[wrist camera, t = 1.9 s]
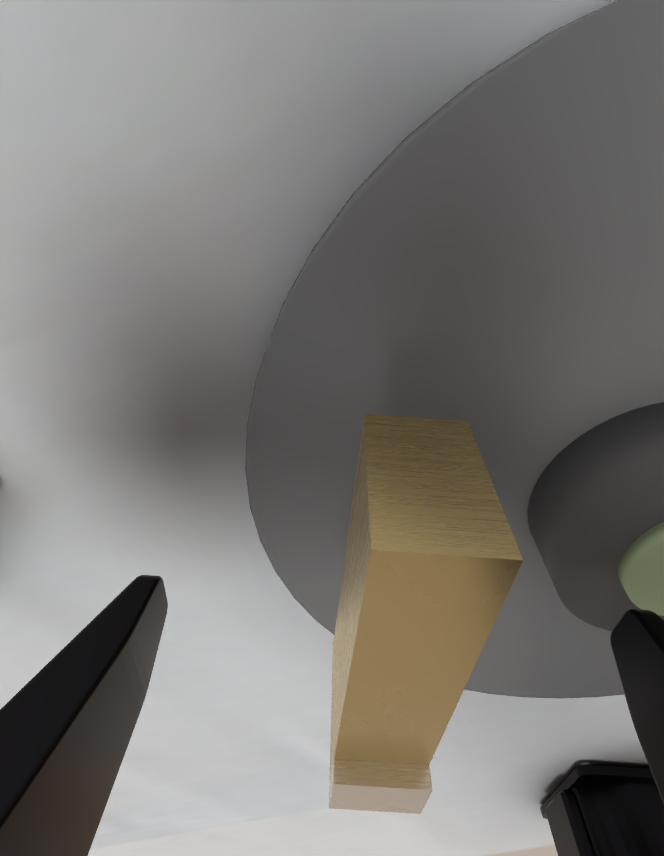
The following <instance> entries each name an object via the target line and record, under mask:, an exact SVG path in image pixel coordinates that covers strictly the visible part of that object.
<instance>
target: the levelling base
mask: <svg viewBox="0 0 664 856" xmlns="http://www.w3.org/2000/svg"><path fill="white" fill-rule="evenodd" d="M364 413H367V414H380V415H393V416H406V417H419V418H432V419H445V420H458V421H468V423H469V426H470V428H471V431H472V433H473V436H474V438H475V441H476V443H477V446H478V448H479V451H480V453H481V456H482V458H483V461H484V463H485V466H486V468H487V471H488V473H489V476H490V478H491V481H492V483H493V486H494V488H495V491H496V493H497V496H498V499H499V501H500V504H501V506H502V509H503V511H504V514H505V516H506V519H507V521H508V524H509V526H510V529H511V531H512V534H513V536H514V539H515V541H516V544H517V546H518V549H519V551H520V554H521V556H522V559H523V562H522V564H521V566H520V568H519V570H518V573H517V575H516V577H515V579H514V581H513V583H512V586H511V588H510V590H509V592H508V594H507V596H506V599H505V601H504V603H503V605H502V607H501V610H500V612H499V614H498V616H497V618H496V620H495V623H494V625H493V627H492V629H491V631H490V633H489V636H488V638H487V640H486V642H485V644H484V646H483V649H482V651H481V653H480V655H479V657H478V659H477V662H476V664H475V666H474V668H473V670H472V673H471V675H470V677H469V679H468V681H467V683H466V686H465V688H464V689H466V690H471V691H477V692H483V693H488V694H498V695H508V696H518V697H537V698H580V697H601V696H612V695H623V694H625V693H624V690H623V686H622V682H621V679H620V675H619V672H618V668H617V665H616V661H615V658H614V654H613V651H612V647H611V641H610V637H611V632H612V630H613V629H614V628H615V626H616V625H617V623H618V622H619V621H620V619H621V618H622V616H623V615H624V614H625V612H626V611H627V610H630V609H641V610H650V611H652V612H654V613H656V614H657V615H659V616H660V617H661V618H662V619H663V620H664V0H618V1H616V2H613V3H611V4H609V5H607V6H605V7H603V8H601V9H599V10H597V11H595V12H593V13H591V14H588V15H586V16H584V17H582V18H580V19H578V20H576V21H574V22H572V23H570V24H568V25H566V26H563V27H561V28H559V29H557V30H555V31H553V32H551V33H549V34H547V35H545V36H544V37H542V38H541V39H539V40H538V41H536V42H535V43H533V44H531V45H530V46H528V47H527V48H525V49H524V50H522V51H521V52H519V53H518V54H516V55H514V56H513V57H511V58H510V59H508V60H507V61H505V62H504V63H502V64H500V65H499V66H497V67H496V68H494V69H493V70H491V71H490V72H488V73H486V74H485V75H483V76H482V77H480V78H479V79H477V80H476V81H474V82H473V83H471V84H470V85H469V86H467V87H466V88H465V89H464V90H463V91H461V92H460V93H459V94H458V95H457V96H455V97H454V98H453V99H452V100H451V101H449V102H448V103H447V104H446V105H445V106H443V107H442V108H441V109H440V110H439V111H437V112H436V113H435V114H434V115H433V116H431V117H430V118H429V119H428V120H427V121H425V122H424V123H423V124H422V125H421V126H419V127H418V128H417V129H416V130H415V131H413V132H412V133H411V134H410V135H409V136H407V137H406V138H405V139H404V140H403V141H402V142H401V143H400V144H399V146H398V147H397V148H396V149H395V150H394V151H393V152H392V153H391V154H390V155H389V156H388V157H387V158H386V159H385V160H384V162H383V163H382V164H381V165H380V166H379V167H378V168H377V169H376V170H375V171H374V172H373V173H372V174H371V175H370V176H369V178H368V179H367V180H366V181H365V182H364V183H363V184H362V185H361V186H360V187H359V188H358V189H357V190H356V191H355V192H354V194H353V195H352V196H351V197H350V199H349V200H348V202H347V203H346V204H345V206H344V207H343V209H342V210H341V211H340V213H339V214H338V215H337V217H336V218H335V220H334V221H333V222H332V224H331V225H330V226H329V228H328V229H327V231H326V232H325V233H324V235H323V236H322V237H321V239H320V240H319V242H318V243H317V244H316V246H315V247H314V249H313V250H312V252H311V254H310V256H309V257H308V259H307V261H306V263H305V265H304V267H303V268H302V270H301V272H300V274H299V276H298V278H297V280H296V281H295V283H294V285H293V287H292V289H291V291H290V293H289V294H288V296H287V298H286V300H285V302H284V304H283V307H282V309H281V312H280V315H279V317H278V320H277V323H276V325H275V328H274V331H273V334H272V336H271V339H270V342H269V344H268V347H267V350H266V352H265V355H264V358H263V361H262V364H261V367H260V370H259V372H258V375H257V380H256V385H255V389H254V394H253V399H252V404H251V409H250V414H249V418H248V423H247V442H246V465H245V469H246V477H247V485H248V493H249V501H250V508H251V511H252V515H253V518H254V521H255V524H256V528H257V531H258V534H259V538H260V541H261V543H262V545H263V547H264V549H265V551H266V553H267V555H268V557H269V559H270V561H271V563H272V565H273V567H274V569H275V571H276V573H277V574H278V576H279V577H280V578H281V580H282V581H283V583H284V584H285V585H286V587H287V588H288V590H289V591H290V592H291V594H292V595H293V597H294V598H295V599H296V600H297V601H298V602H299V603H300V604H301V605H302V606H303V607H304V608H305V609H306V610H307V612H308V613H309V614H310V615H311V616H312V617H313V618H314V619H315V620H316V621H317V622H319V623H320V624H321V625H323V626H324V627H325V628H326V629H328V630H329V631H330V632H331V633H333V634H335V626H336V619H337V611H338V604H339V596H340V589H341V581H342V573H343V566H344V558H345V551H346V543H347V535H348V528H349V520H350V513H351V505H352V497H353V490H354V482H355V475H356V467H357V460H358V452H359V444H360V437H361V429H362V422H363V414H364Z"/></svg>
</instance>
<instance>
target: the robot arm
mask: <svg viewBox="0 0 664 856" xmlns="http://www.w3.org/2000/svg"><path fill="white" fill-rule="evenodd" d="M167 607H168V603H167V597H166V592H165V588H164V583H163V580H162V578H161V577H160V576H151V575H141V576H139V577H137V578H136V579H135V580H134V581H132V582H131V583H130V584H129V585H128V586H127V587H126V588H125V589H124V590H123V591H122V592H121V593H120V594H119V595H118V596H117V597H116V598H115V599H114V600H113V601H112V602H111V603H110V604H109V605H108V606H107V607H106V608H105V609H104V610H103V611H102V612H101V613H100V614H98V615H97V616H96V617H95V618H94V619H93V620H92V621H91V622H90V623H89V624H88V625H87V626H86V627H85V628H84V629H83V630H82V631H81V632H80V633H79V634H78V635H77V636H76V637H75V638H74V639H73V640H72V641H71V642H70V643H69V644H68V645H67V646H66V647H64V648H63V649H62V650H61V651H60V652H59V653H58V654H57V655H56V656H55V657H54V658H53V659H52V660H51V661H50V662H49V663H48V664H47V665H46V666H45V667H44V668H43V669H42V670H41V671H40V672H39V673H38V674H37V675H36V676H35V677H34V678H33V679H32V680H30V681H29V682H28V683H27V684H26V685H25V686H24V687H23V688H22V689H21V690H20V691H19V692H18V693H17V694H16V695H15V696H14V697H13V698H12V699H11V700H10V701H9V702H8V703H7V704H6V705H5V706H4V707H3V708H2V709H1V710H0V856H87V855H88V853H89V850H90V847H91V845H92V842H93V839H94V836H95V834H96V831H97V828H98V825H99V823H100V820H101V817H102V815H103V812H104V809H105V806H106V804H107V801H108V798H109V796H110V793H111V790H112V787H113V785H114V782H115V779H116V776H117V774H118V771H119V768H120V766H121V763H122V760H123V757H124V755H125V752H126V749H127V746H128V744H129V741H130V738H131V736H132V733H133V730H134V727H135V725H136V722H137V719H138V716H139V714H140V711H141V708H142V705H143V702H144V699H145V696H146V693H147V689H148V685H149V682H150V678H151V674H152V670H153V666H154V662H155V658H156V654H157V650H158V646H159V642H160V638H161V634H162V630H163V626H164V622H165V618H166V614H167ZM610 641H611V647H612V651H613V654H614V658H615V661H616V665H617V668H618V672H619V675H620V679H621V682H622V686H623V690H624V693H625V697H626V700H627V704H628V707H629V711H630V714H631V717H632V721H633V724H634V727H635V730H636V732H637V735H638V738H639V741H640V743H641V746H642V749H643V751H644V754H645V756H646V759H647V762H648V764H649V767H650V769H648V768H632V767H616V766H600V765H581V766H578V767H576V768H575V769H574V770H573V771H572V773H571V774H570V775H569V776H568V777H567V778H566V779H565V780H564V781H563V783H562V784H561V785H560V786H559V787H558V788H557V789H556V790H555V791H554V793H553V794H552V795H551V796H550V797H549V798H548V799H547V800H546V801H545V803H544V804H543V805H542V806H541V807H540V809H541V813H542V816H543V818H545V819H548V821H549V825H550V828H551V832H552V835H553V839H554V842H555V846H556V849H557V852H558V856H664V620H663V619H662V618H661V617H660V616H659V615H657V614H656V613H654V612H652V611H650V610H641V609H630V610H627V611H626V612H625V614H624V615H623V616H622V618H621V619H620V621H619V622H618V623H617V625H616V626H615V628H614V629H613V630H612V632H611V637H610Z"/></svg>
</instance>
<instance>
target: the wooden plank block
mask: <svg viewBox="0 0 664 856" xmlns="http://www.w3.org/2000/svg"><path fill="white" fill-rule="evenodd" d="M522 562H523V559H522V556H521V554H520V551H519V549H518V546H517V544H516V541H515V539H514V536H513V534H512V531H511V529H510V526H509V524H508V521H507V519H506V516H505V514H504V511H503V509H502V506H501V504H500V501H499V499H498V496H497V493H496V491H495V488H494V486H493V483H492V481H491V478H490V476H489V473H488V471H487V468H486V466H485V463H484V461H483V458H482V456H481V453H480V451H479V448H478V446H477V443H476V441H475V438H474V436H473V433H472V431H471V428H470V426H469V423H468V421H458V420H445V419H432V418H419V417H406V416H393V415H380V414H367V413H364V414H363V422H362V429H361V437H360V444H359V452H358V460H357V467H356V475H355V482H354V490H353V497H352V505H351V513H350V520H349V528H348V535H347V543H346V551H345V558H344V566H343V573H342V581H341V589H340V596H339V604H338V611H337V619H336V626H335V634H334V642H333V673H332V711H331V749H330V787H329V808H334V809H351V810H367V811H384V812H400V813H417V814H421V812H422V810H423V808H424V806H425V804H426V802H427V800H428V798H429V796H430V794H431V792H432V783H431V775H430V767H429V764H430V762H431V759H432V757H433V755H434V753H435V751H436V749H437V746H438V744H439V742H440V740H441V738H442V736H443V733H444V731H445V729H446V727H447V725H448V722H449V720H450V718H451V716H452V714H453V712H454V709H455V707H456V705H457V703H458V701H459V699H460V696H461V694H462V692H463V690H464V688H465V686H466V683H467V681H468V679H469V677H470V675H471V673H472V670H473V668H474V666H475V664H476V662H477V659H478V657H479V655H480V653H481V651H482V649H483V646H484V644H485V642H486V640H487V638H488V636H489V633H490V631H491V629H492V627H493V625H494V623H495V620H496V618H497V616H498V614H499V612H500V610H501V607H502V605H503V603H504V601H505V599H506V596H507V594H508V592H509V590H510V588H511V586H512V583H513V581H514V579H515V577H516V575H517V573H518V570H519V568H520V566H521V564H522Z"/></svg>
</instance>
